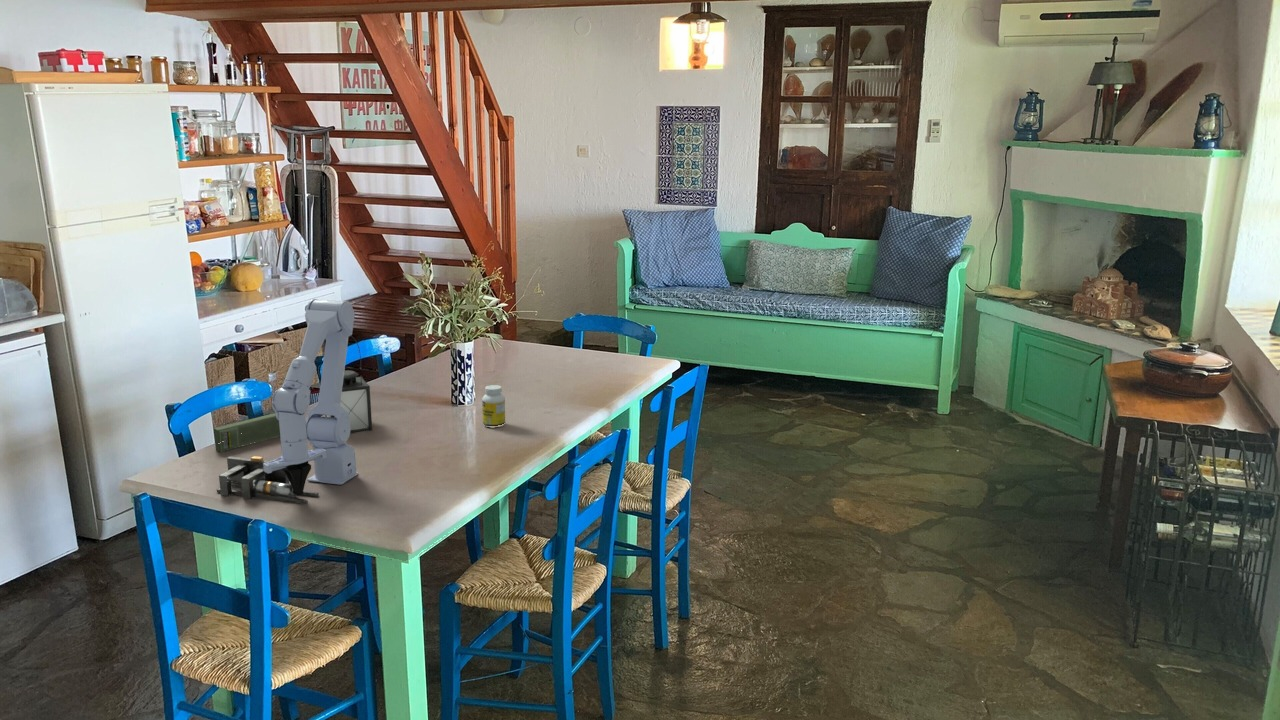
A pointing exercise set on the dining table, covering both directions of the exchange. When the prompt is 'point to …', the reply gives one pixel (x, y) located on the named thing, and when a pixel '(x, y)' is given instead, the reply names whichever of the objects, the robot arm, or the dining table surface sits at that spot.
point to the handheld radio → (246, 432)
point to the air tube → (273, 488)
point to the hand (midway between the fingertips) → (298, 494)
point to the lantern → (356, 401)
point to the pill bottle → (493, 406)
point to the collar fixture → (247, 472)
